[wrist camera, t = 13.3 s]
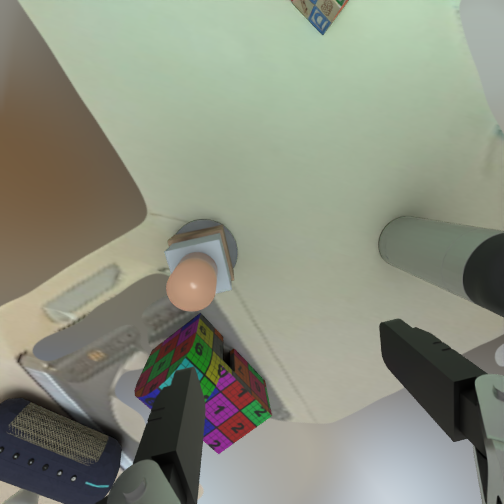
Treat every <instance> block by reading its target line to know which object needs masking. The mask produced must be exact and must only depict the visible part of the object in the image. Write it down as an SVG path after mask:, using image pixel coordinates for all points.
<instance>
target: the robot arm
mask: <svg viewBox="0 0 504 504" xmlns="http://www.w3.org/2000/svg"><path fill="white" fill-rule="evenodd" d="M379 250H380V254H381V256H382V258H383V259H384V260H385V261H386V262H387V263H389V264H391V265H393V266H395V267H397V268H399V269H402V270H403V271H406V272H408V273H410V274H412V275H414V276H416V277H418V278H421V279H423V280H425V281H427V282H429V283H431V284H433V285H436V286H438V287H440V288H442V289H444V290H446V291H449V292H451V293H453V294H455V295H457V296H460V297H462V298H464V299H466V300H468V301H470V302H472V303H475V304H477V305H479V306H481V307H483V308H486V309H488V310H490V311H492V312H494V313H496V314H498V315H500V316H502V317H504V231H501V230H494V229H487V228H481V227H474V226H468V225H461V224H455V223H448V222H442V221H435V220H429V219H423V218H417V217H410V216H404V217H400V218H397V219H395V220H393V221H392V222H390V223H389V224H388V225H387V226H386V227H385V229H384V230H383V232H382V234H381V236H380V240H379ZM379 329H380V340H381V352H382V357H383V360H384V363H385V364H386V366H387V368H388V369H389V370H390V371H391V372H392V374H393V375H394V376H395V377H396V378H397V379H398V380H399V381H400V383H401V384H402V385H403V386H404V387H405V388H406V389H407V390H408V391H409V393H410V394H411V395H412V396H413V397H414V398H415V399H416V400H417V402H418V403H419V404H420V405H421V406H422V407H423V408H424V409H425V410H426V411H427V413H428V414H429V415H430V416H431V417H432V418H433V419H434V420H435V422H436V423H437V424H438V425H439V426H440V427H441V428H442V429H443V430H444V432H445V433H446V434H447V435H448V436H449V437H450V438H451V440H452V441H453V442H456V441H460V440H464V439H468V440H469V441H470V442H471V443H472V444H473V445H474V446H473V453H474V458H475V464H476V470H477V476H478V481H479V487H480V493H481V499H482V504H504V376H503V375H497V374H487V373H486V372H484V371H483V370H482V369H480V368H479V367H477V366H476V365H475V364H473V363H472V362H470V361H469V360H468V359H466V358H465V357H463V356H462V355H461V354H459V353H458V352H456V351H455V350H453V349H451V347H449V346H448V345H446V344H445V343H444V342H443V343H442V342H441V340H439V339H438V338H437V337H435V336H434V335H432V334H431V333H429V332H427V331H424V330H421V329H419V328H416V327H415V328H412V327H410V326H409V325H408V324H406V323H405V322H404V321H402V320H401V319H394V320H390V321H386V322H381V323H380V326H379ZM205 413H206V408H205V399H204V395H203V392H202V389H201V385H200V382H199V379H198V375H197V372H196V369H195V367H189V368H185V369H181V370H177V371H175V373H174V376H173V380H172V383H171V385H170V386H166V387H163V389H162V390H161V391H160V393H159V394H158V395H157V397H156V398H155V400H154V403H153V406H152V409H151V413H150V415H149V418H148V423H147V424H146V427H145V430H144V433H143V436H142V438H141V441H140V444H139V447H138V450H137V453H136V456H135V459H134V462H133V465H131V466H130V467H129V468H127V469H126V470H125V471H124V472H123V473H122V474H121V475H120V476H119V477H118V478H117V480H116V481H115V483H114V484H113V486H112V488H111V490H110V492H109V495H108V496H106V497H105V498H103V499H102V500H100V501H98V502H96V503H95V504H197V499H198V488H199V477H200V467H201V456H202V445H203V435H204V424H205Z"/></svg>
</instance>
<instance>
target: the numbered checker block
mask: <svg viewBox="0 0 504 504" xmlns="http://www.w3.org/2000/svg"><path fill="white" fill-rule="evenodd" d="M189 367H195V369H196V372H197V375H198V379H199V382H200V385H201V389H202V392H203V395H204V399H205V408H206V413H205V424H204V435H203V441H204V442H205V443H207V444H208V445H209V446H210V447H211V448H212V449H213V450H214V451H216V452H217V453H218V454H219V453H221V452H222V451H224V450H225V449H226V448H228V447H229V446H231V445H232V444H233V443H235V442H236V441H237V440H239V439H240V438H242V437H243V436H245V435H246V434H247V433H249V432H250V431H252V430H253V429H254V428H256V427H257V426H258V425H260V424H261V423H263V422H264V421H266V420H267V419H268V418H270V417H271V416H272V414H271V409H270V404H269V399H268V394H267V389H266V384H265V380H264V379H263V378H262V377H261V376H260V375H259V374H258V373H257V372H256V371H255V370H254V369H253V368H252V367H251V366H250V365H249V364H248V363H247V361H246V360H245V359H244V358H243V357H242V356H241V355H240V354H239V353H238V352H237V351H236V350H235V349H232V350H231V351H230V367H229V366H228V365H227V364H226V363H225V362H224V361H223V336H222V335H221V334H220V333H219V332H218V331H217V330H216V329H215V328H214V327H213V326H212V324H211V323H210V322H209V321H208V320H207V319H206V318H205V317H204V316H203V315H202V314H201V313H200V314H199V315H197V316H196V317H195V318H193V319H192V320H191V321H189V322H188V323H187V324H186V325H184V326H183V327H182V328H180V329H179V330H178V331H177V332H175V333H174V334H173V335H171V336H170V337H169V338H167V339H166V340H165V341H164V342H162V343H161V344H160V345H158V346H157V347H156V348H155V349H153V350H152V352H151V354H150V356H149V358H148V360H147V362H146V365H145V367H144V369H143V371H142V373H141V376H140V378H139V380H138V382H137V385H136V388H135V396H136V397H137V398H138V399H139V400H141V401H142V402H143V403H144V404H145V405H147V406H148V407H149V408H150V409H152V406H153V403H154V400H155V398H156V397H157V395H158V394H159V393H160V391H161V390H162V389H163V387H166V386H170V385H171V383H172V380H173V376H174V373H175V371H177V370H181V369H185V368H189Z"/></svg>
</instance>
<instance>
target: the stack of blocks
mask: <svg viewBox="0 0 504 504" xmlns="http://www.w3.org/2000/svg"><path fill="white" fill-rule="evenodd" d="M291 1H292V2H293V4H294V5H295V6H296V7H297V9H298V10H299V11H300V12H301V13H302V14H303V15H304V16H305V17H306V18H307V19H308V20H309V21H310V22H311V23H312V24H313V26H314V27H316V28H317V30H318V31H319V32H320V33H321V34H322V35H324V34H325V32H326V31H327V29H328V28H329V27H330V25H331V24H332V23H333V21H334V20H335V19H336V17H337V16H338V15H339V13H340V12H341V11H342V9H343V8H344V7H345V5H346V4H347V2H348V1H349V0H291Z"/></svg>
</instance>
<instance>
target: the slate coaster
mask: <svg viewBox="0 0 504 504" xmlns="http://www.w3.org/2000/svg"><path fill="white" fill-rule="evenodd" d="M219 225H222V224H220V223H218V222H216V221H212V220H207V219H201V220H195V221H192V222H190V223H188V224H186V225H185V226H183V227H182V228H181V229H180V230H179V231H178V232H177V233H176V235H177V234H181V233H186V232H191V231H195V230H200V229H205V228H209V227H214V226H219ZM223 228H224V232H225V236H226V241H227V245H228V249H229V254H230V258H231V262H232V267H233V268H234V266H235V264H236V260H237V245H236V241H235V239H234V237H233V235H232V233H231V232H230V231H229V230H228V229H227V228H226V227H225V226H223Z"/></svg>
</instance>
